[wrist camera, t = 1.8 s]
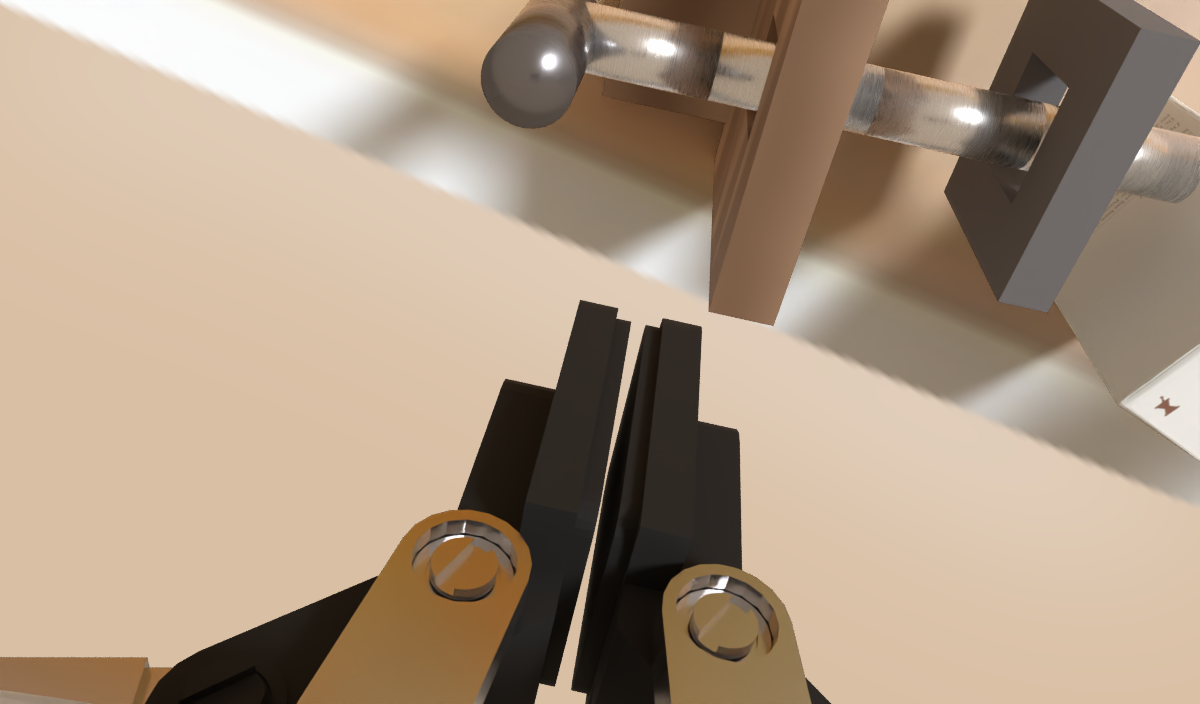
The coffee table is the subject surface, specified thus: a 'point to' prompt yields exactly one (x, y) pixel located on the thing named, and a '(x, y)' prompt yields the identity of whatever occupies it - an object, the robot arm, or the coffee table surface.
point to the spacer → (1067, 138)
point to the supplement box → (1145, 302)
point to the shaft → (737, 77)
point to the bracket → (769, 134)
